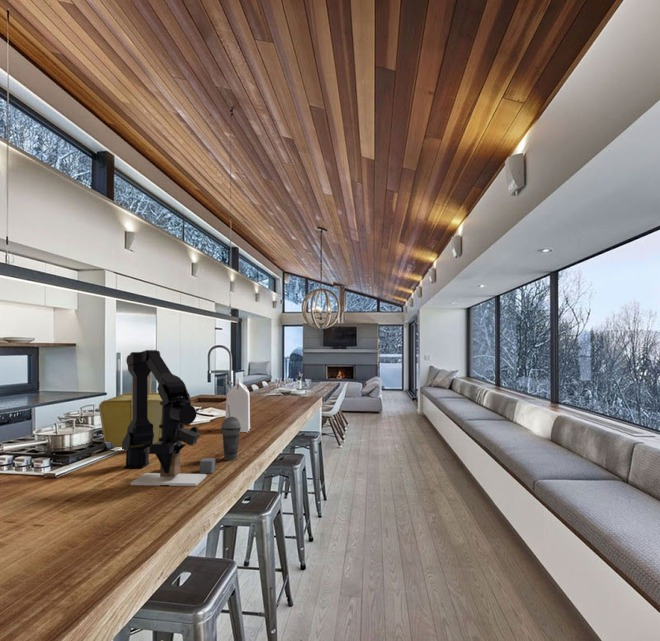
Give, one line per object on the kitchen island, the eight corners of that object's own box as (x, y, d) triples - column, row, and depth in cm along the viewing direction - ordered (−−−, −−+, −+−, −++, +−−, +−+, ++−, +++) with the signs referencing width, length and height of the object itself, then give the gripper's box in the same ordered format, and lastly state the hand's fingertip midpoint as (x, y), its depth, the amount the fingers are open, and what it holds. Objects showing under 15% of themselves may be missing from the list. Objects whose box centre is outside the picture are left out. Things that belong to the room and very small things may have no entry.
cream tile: (130, 484, 137) (130, 482, 137) (145, 475, 147) (145, 473, 147) (196, 486, 136) (196, 483, 136) (206, 476, 146) (206, 474, 146)
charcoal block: (199, 473, 150) (199, 461, 150) (203, 470, 154) (203, 458, 154) (211, 473, 150) (211, 461, 150) (214, 470, 154) (215, 458, 154)
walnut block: (160, 476, 139) (160, 456, 140) (165, 472, 144) (166, 453, 144) (174, 477, 139) (174, 457, 140) (179, 472, 144) (180, 453, 144)
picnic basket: (164, 451, 180) (166, 375, 182) (95, 453, 177) (98, 376, 178) (177, 436, 209) (179, 371, 211) (118, 438, 205) (120, 371, 207)
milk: (227, 428, 232) (228, 377, 233) (250, 428, 233) (250, 377, 234) (224, 432, 220) (225, 378, 221) (248, 432, 221) (249, 378, 222)
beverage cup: (235, 462, 165) (236, 406, 166) (217, 460, 166) (218, 405, 167) (243, 457, 172) (244, 404, 173) (225, 456, 173) (226, 403, 174)
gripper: (186, 426, 133) (184, 480, 132) (205, 416, 152) (204, 463, 151) (148, 425, 133) (147, 479, 132) (172, 415, 152) (171, 462, 151)
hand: (169, 470), depth 142 cm, fingers closed on walnut block, 4 cm apart
